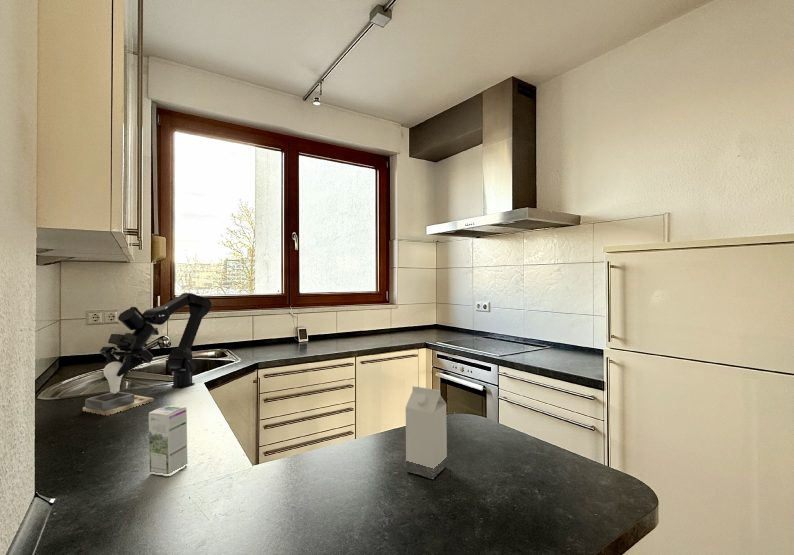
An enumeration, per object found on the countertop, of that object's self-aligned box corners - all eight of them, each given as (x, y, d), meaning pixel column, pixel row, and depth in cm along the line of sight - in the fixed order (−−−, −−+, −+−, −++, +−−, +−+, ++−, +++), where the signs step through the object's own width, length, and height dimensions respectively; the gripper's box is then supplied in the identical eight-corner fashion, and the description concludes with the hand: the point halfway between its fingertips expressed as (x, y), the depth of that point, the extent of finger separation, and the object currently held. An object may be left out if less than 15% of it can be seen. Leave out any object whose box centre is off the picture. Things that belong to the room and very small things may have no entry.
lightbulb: (111, 391, 137) (111, 359, 137) (129, 390, 137) (129, 359, 137) (99, 396, 131) (98, 363, 131) (117, 396, 131) (117, 363, 131)
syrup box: (188, 466, 93) (188, 405, 93) (168, 478, 87) (167, 414, 87) (169, 463, 94) (169, 403, 94) (148, 475, 89) (147, 412, 89)
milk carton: (420, 460, 95) (419, 382, 95) (447, 467, 91) (446, 386, 91) (405, 473, 89) (405, 390, 89) (434, 481, 85) (433, 394, 85)
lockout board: (130, 397, 148) (130, 386, 148) (153, 401, 143) (153, 390, 143) (82, 410, 133) (82, 398, 133) (106, 415, 128) (106, 403, 128)
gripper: (104, 323, 140) (72, 361, 129) (145, 325, 135) (115, 364, 124) (125, 341, 148) (96, 378, 137) (164, 343, 143) (138, 381, 132)
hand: (110, 375), depth 132 cm, fingers closed on lightbulb, 6 cm apart
